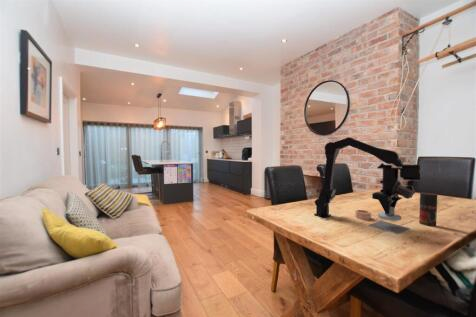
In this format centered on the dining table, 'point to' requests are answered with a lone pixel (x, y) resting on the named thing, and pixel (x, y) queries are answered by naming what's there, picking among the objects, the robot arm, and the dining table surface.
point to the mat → (389, 227)
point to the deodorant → (428, 209)
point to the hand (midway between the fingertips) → (389, 213)
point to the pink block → (363, 214)
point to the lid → (389, 215)
